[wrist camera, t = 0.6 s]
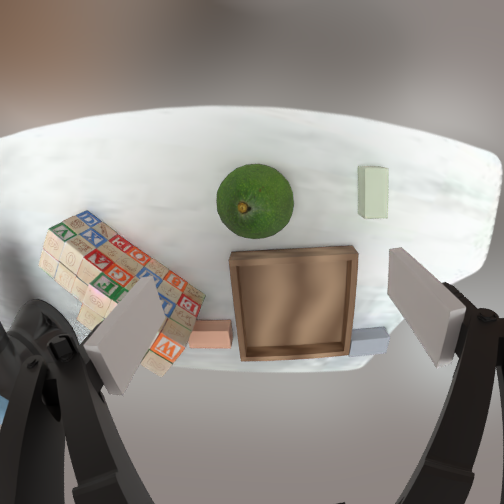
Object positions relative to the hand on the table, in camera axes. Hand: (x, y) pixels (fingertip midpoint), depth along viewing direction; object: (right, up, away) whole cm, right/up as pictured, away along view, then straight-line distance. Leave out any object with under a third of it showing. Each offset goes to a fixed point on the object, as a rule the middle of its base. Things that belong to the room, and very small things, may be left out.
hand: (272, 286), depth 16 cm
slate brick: (+16, -11, +26) cm, 33 cm away
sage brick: (+14, +10, +19) cm, 25 cm away
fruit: (0, +9, +20) cm, 22 cm away
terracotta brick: (-7, -9, +27) cm, 29 cm away
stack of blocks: (-18, 0, +24) cm, 30 cm away
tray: (+5, -5, +25) cm, 25 cm away
